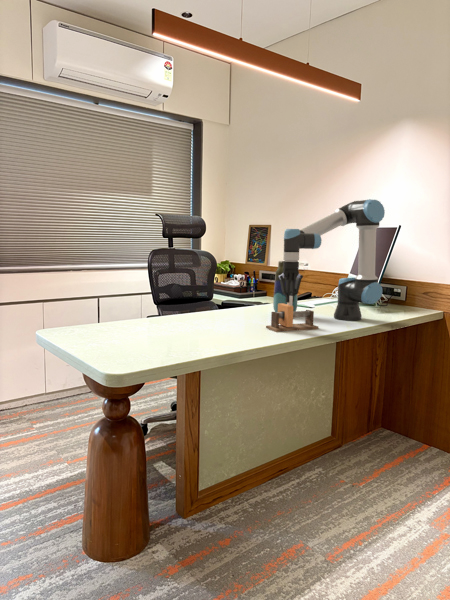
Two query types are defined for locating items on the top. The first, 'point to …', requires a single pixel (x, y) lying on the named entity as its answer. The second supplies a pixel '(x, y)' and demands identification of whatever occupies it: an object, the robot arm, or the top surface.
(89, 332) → the top surface
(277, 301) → the vase
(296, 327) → the pipe rig
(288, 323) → the collar
